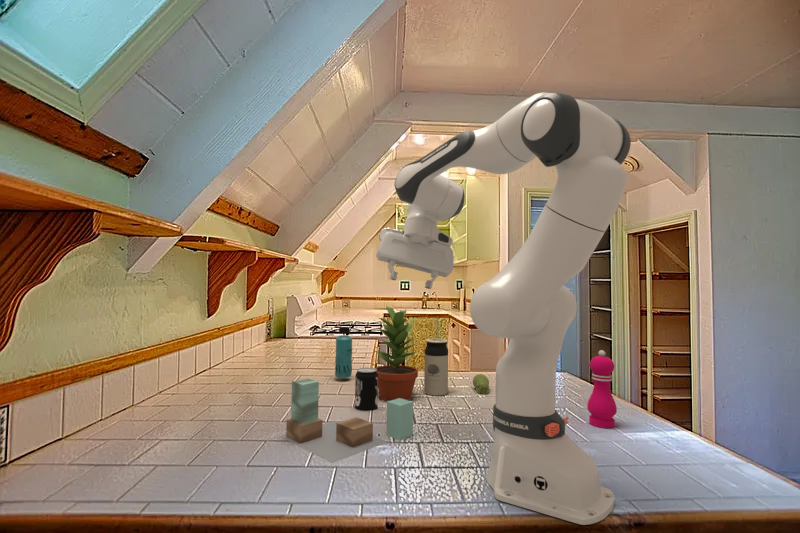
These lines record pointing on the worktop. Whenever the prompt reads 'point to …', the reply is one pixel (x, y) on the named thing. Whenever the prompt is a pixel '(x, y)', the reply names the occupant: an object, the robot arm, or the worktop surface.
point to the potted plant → (396, 360)
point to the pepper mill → (602, 392)
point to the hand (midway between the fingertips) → (410, 283)
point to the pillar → (399, 418)
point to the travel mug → (436, 367)
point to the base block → (354, 432)
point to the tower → (304, 412)
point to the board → (333, 444)
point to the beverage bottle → (343, 354)
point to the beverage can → (366, 389)
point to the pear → (481, 384)
